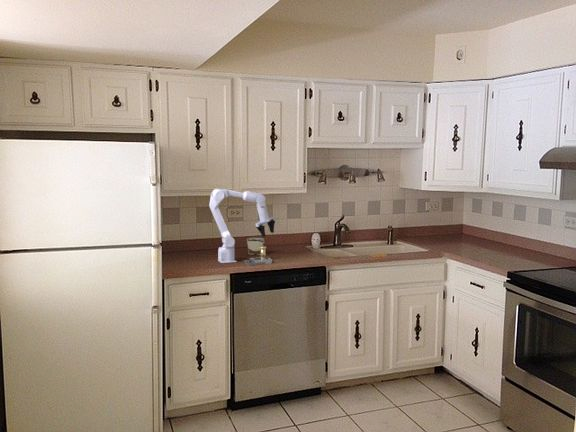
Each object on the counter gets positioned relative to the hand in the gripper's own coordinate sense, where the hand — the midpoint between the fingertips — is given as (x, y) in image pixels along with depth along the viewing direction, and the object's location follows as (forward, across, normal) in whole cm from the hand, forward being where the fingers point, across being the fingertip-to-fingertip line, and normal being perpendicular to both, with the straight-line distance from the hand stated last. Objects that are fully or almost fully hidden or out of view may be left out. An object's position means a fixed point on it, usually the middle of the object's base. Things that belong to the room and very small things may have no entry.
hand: (268, 234), depth 314 cm
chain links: (+13, -15, -1) cm, 20 cm away
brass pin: (+14, -6, +3) cm, 16 cm away
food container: (+15, +4, +19) cm, 24 cm away
